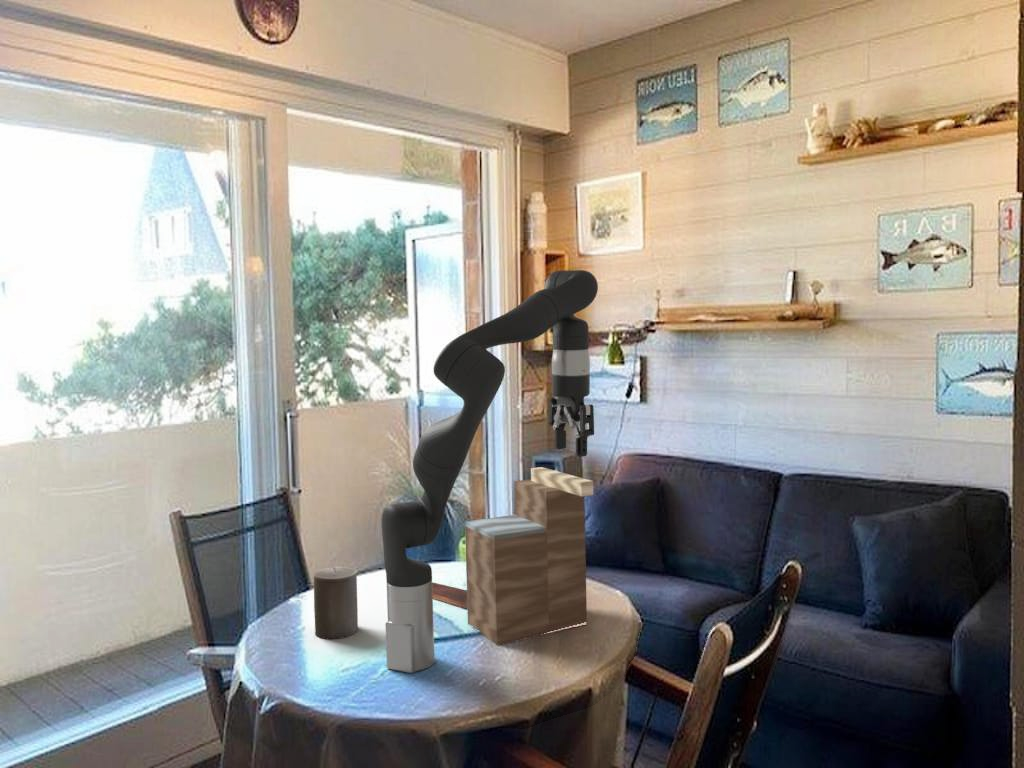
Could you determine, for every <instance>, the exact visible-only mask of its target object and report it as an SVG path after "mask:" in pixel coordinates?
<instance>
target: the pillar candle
mask: <svg viewBox="0 0 1024 768" xmlns="http://www.w3.org/2000/svg"><path fill="white" fill-rule="evenodd" d="M357 573H358V571H357V570H356V569H354V568H352V567H346V566H345V567H344V566H333V567H327V568H322V569H319V570H317V571H315V572H314V573H313V601H314V602H313V606H314V607H313V608H314V609H313V611H314V635H315V636H316V637H319V638H321V639H324V638H328V639H327V640H333V639H335V640H336V639H337V640H338V639H343V638H348V637H351V636H354V635H355V634H356V633H357V632H358V630H359V624H358V623H359V621H358V616H359V615H358V587H357V586H358V582H357V581H358V577H357Z"/></svg>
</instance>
